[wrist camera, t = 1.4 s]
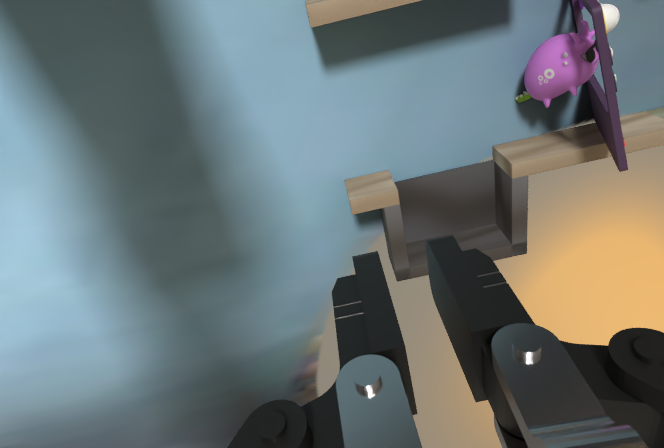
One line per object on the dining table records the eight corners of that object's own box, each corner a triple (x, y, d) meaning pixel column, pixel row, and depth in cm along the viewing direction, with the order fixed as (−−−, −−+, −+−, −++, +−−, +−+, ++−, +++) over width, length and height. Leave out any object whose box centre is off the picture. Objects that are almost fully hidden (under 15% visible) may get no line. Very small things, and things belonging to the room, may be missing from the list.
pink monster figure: (644, 167, 23) (621, -3, 19) (538, 193, 26) (496, 47, 21) (613, 112, 28) (589, -32, 24) (527, 138, 31) (490, 11, 26)
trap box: (274, -138, 21) (271, -152, 18) (920, -309, 20) (1015, -350, 17) (362, 262, 33) (368, 287, 31) (763, 174, 32) (804, 193, 29)
